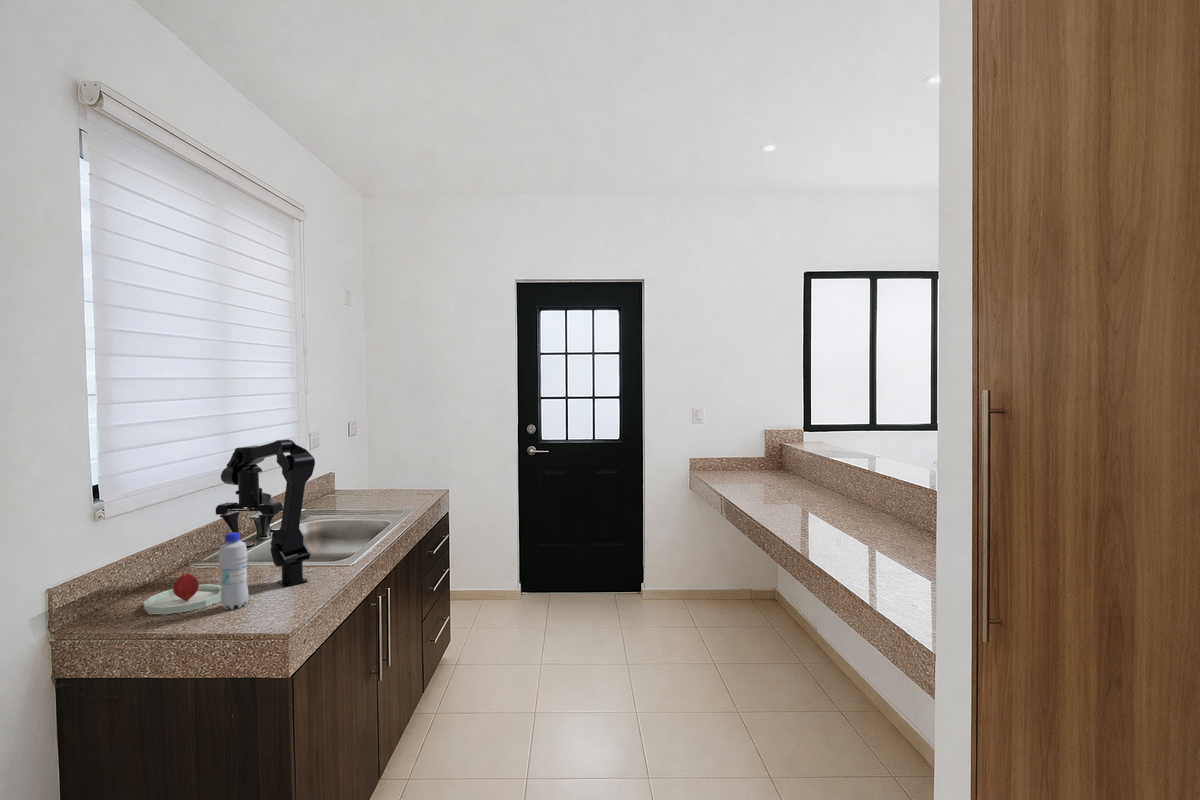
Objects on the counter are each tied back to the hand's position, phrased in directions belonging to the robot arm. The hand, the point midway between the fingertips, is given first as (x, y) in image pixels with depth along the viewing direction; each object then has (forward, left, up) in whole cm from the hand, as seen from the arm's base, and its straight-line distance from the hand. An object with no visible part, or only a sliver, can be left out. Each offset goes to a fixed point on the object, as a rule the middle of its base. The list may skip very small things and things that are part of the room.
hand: (250, 535), depth 193 cm
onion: (-15, +21, -12) cm, 28 cm away
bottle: (-29, +13, -12) cm, 34 cm away
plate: (-15, +21, -12) cm, 28 cm away
